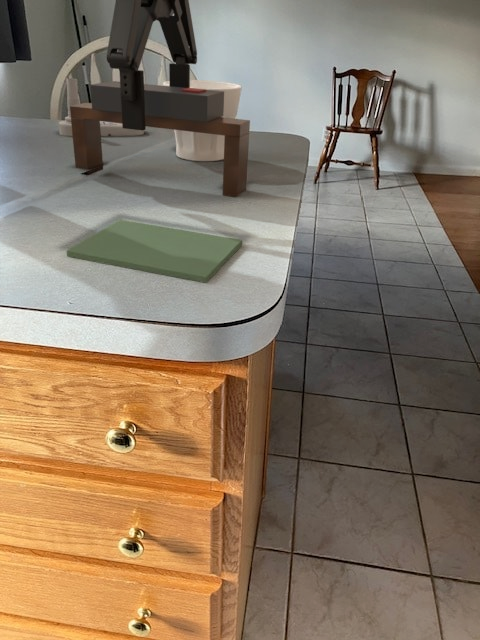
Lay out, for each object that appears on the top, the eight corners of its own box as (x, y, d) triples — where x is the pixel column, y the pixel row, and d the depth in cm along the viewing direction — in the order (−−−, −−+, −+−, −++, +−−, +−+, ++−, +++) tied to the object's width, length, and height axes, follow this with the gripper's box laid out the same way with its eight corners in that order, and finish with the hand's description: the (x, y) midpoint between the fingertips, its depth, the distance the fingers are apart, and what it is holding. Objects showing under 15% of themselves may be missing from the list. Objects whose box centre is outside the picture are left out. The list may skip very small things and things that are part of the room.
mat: (66, 256, 50) (66, 250, 50) (120, 224, 59) (120, 219, 59) (206, 283, 47) (206, 276, 47) (242, 245, 55) (242, 239, 55)
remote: (91, 109, 70) (89, 82, 69) (115, 104, 75) (113, 79, 74) (206, 122, 66) (207, 93, 65) (223, 116, 71) (224, 89, 70)
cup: (167, 164, 84) (166, 87, 78) (161, 147, 94) (159, 78, 89) (245, 165, 86) (249, 90, 81) (231, 148, 97) (234, 81, 91)
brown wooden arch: (75, 173, 76) (69, 105, 72) (91, 167, 80) (86, 102, 75) (236, 197, 70) (240, 124, 66) (246, 189, 74) (250, 120, 69)
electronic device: (146, 84, 95) (56, 79, 90) (146, 142, 99) (60, 140, 94) (140, 81, 99) (54, 76, 94) (140, 136, 104) (58, 135, 99)
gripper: (130, -101, 49) (139, 140, 60) (223, -61, 70) (218, 112, 81) (59, -100, 51) (80, 133, 62) (170, -62, 72) (172, 107, 82)
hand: (158, 121), depth 71 cm, fingers open, 13 cm apart
